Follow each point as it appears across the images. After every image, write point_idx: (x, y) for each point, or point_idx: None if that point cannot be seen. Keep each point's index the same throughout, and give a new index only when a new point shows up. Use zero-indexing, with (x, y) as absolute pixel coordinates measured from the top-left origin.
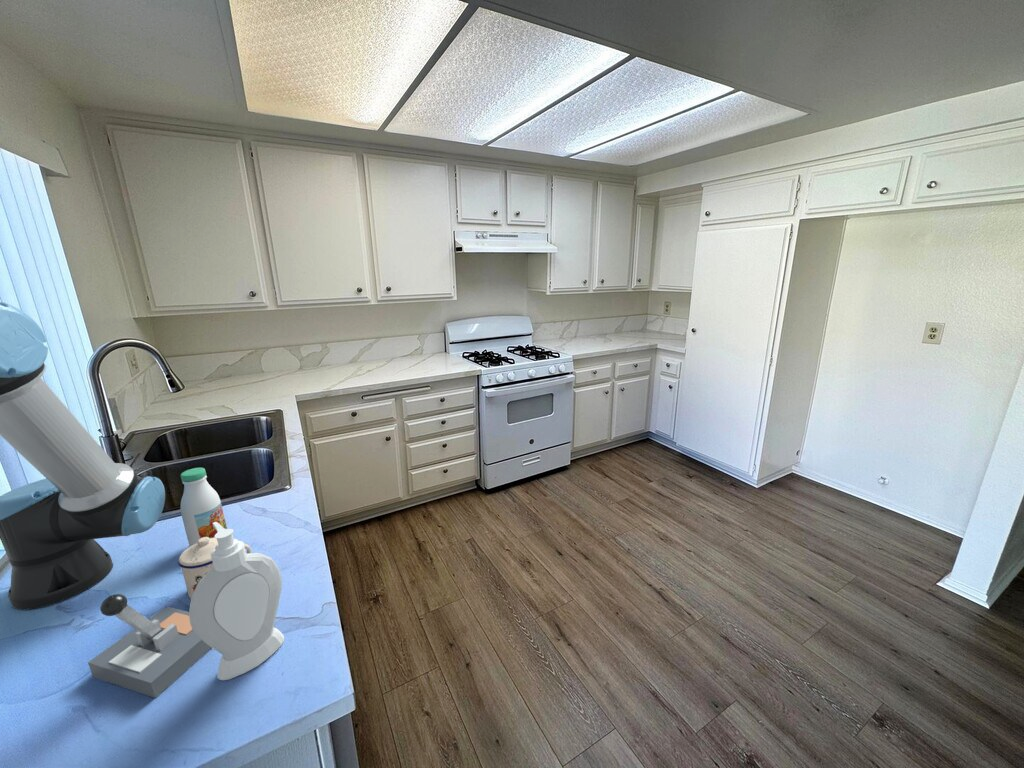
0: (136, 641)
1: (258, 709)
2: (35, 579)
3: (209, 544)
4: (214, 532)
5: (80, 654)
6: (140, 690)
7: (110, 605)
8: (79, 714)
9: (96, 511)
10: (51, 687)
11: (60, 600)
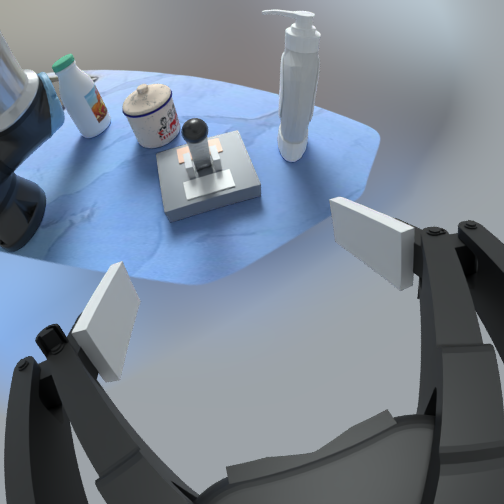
0: (181, 179)
1: (350, 160)
2: (12, 219)
3: (150, 88)
4: (103, 107)
5: (124, 224)
6: (241, 199)
7: (202, 127)
8: (212, 239)
9: (29, 113)
10: (145, 248)
11: (38, 223)
